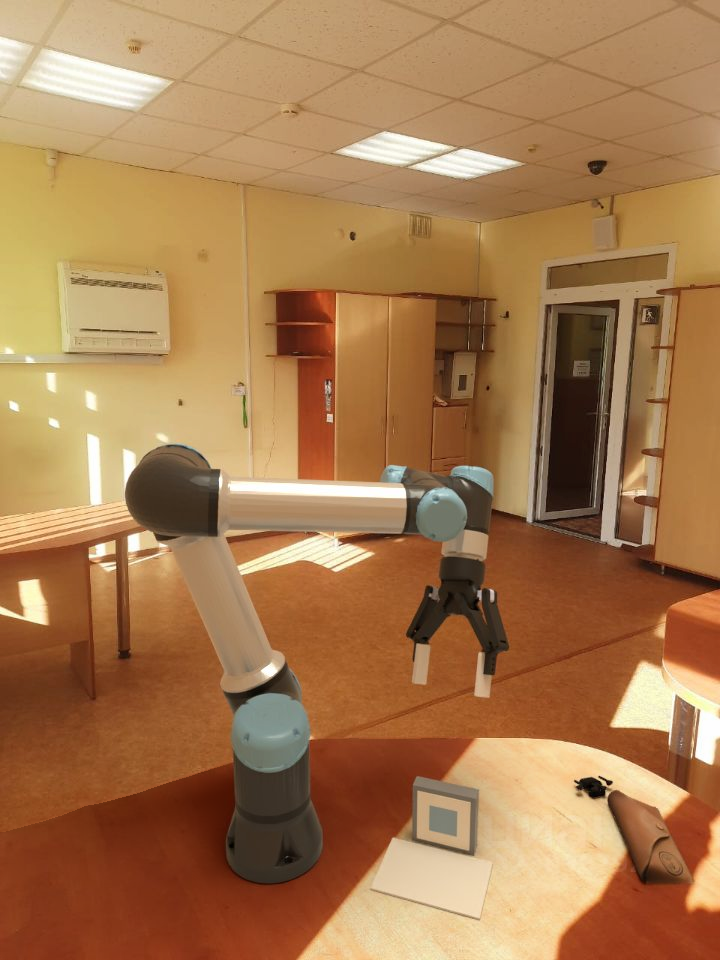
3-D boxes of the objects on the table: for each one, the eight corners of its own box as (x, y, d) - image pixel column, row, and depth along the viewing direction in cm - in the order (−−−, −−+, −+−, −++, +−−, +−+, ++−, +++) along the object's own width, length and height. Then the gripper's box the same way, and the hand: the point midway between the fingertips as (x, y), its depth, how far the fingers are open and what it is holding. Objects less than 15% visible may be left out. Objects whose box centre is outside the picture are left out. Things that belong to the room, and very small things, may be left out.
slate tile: (411, 841, 110) (412, 785, 108) (416, 830, 112) (416, 776, 110) (474, 857, 106) (475, 799, 104) (477, 845, 109) (479, 789, 107)
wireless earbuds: (602, 773, 125) (618, 781, 120) (603, 788, 124) (620, 796, 120) (567, 779, 123) (582, 787, 118) (569, 794, 123) (584, 802, 118)
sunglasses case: (700, 886, 100) (680, 850, 99) (656, 905, 101) (635, 870, 100) (656, 804, 118) (638, 774, 117) (618, 822, 119) (600, 791, 118)
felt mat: (370, 889, 100) (370, 887, 100) (392, 839, 110) (392, 837, 110) (479, 920, 95) (479, 918, 95) (492, 863, 105) (493, 862, 105)
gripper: (539, 563, 107) (527, 704, 103) (425, 562, 127) (411, 680, 122) (509, 554, 103) (495, 701, 98) (396, 554, 122) (380, 677, 117)
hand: (448, 690), depth 110 cm, fingers open, 13 cm apart
